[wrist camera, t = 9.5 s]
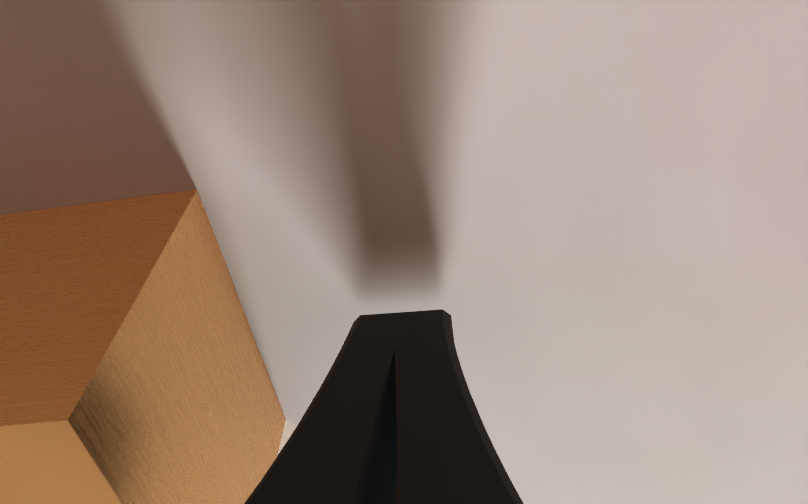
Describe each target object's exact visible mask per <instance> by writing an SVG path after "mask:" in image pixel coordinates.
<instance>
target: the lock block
mask: <svg viewBox="0 0 808 504" xmlns="http://www.w3.org/2000/svg"><path fill="white" fill-rule="evenodd" d="M285 420H286V419H285V417H284V414H283V411H282V409H281V406H280V404H279V401H278V398H277V396H276V393H275V391H274V388H273V385H272V383H271V380H270V378H269V375H268V372H267V370H266V367H265V365H264V362H263V360H262V357H261V354H260V352H259V349H258V347H257V344H256V341H255V339H254V336H253V334H252V331H251V328H250V326H249V323H248V321H247V318H246V315H245V313H244V310H243V308H242V305H241V302H240V300H239V297H238V295H237V292H236V290H235V287H234V284H233V282H232V279H231V277H230V274H229V271H228V269H227V266H226V264H225V261H224V258H223V256H222V253H221V251H220V248H219V245H218V243H217V240H216V238H215V235H214V232H213V230H212V227H211V225H210V222H209V220H208V217H207V214H206V212H205V209H204V207H203V204H202V201H201V199H200V196H199V194H198V191H197V190H190V191H182V192H174V193H166V194H159V195H151V196H143V197H135V198H127V199H120V200H112V201H104V202H96V203H89V204H81V205H73V206H65V207H58V208H50V209H42V210H34V211H26V212H19V213H11V214H3V215H0V504H244V503H245V502H246V500H247V499H248V498H249V496H250V495H251V493H252V492H253V491H254V489H255V488H256V487H257V485H258V484H259V483H260V481H261V480H262V478H263V477H264V475H265V474H266V472H267V471H268V469H269V468H270V466H271V465H272V463H273V462H274V460H275V459H276V458H277V454H278V450H279V445H280V441H281V437H282V432H283V428H284V424H285Z"/></svg>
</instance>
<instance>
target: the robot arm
mask: <svg viewBox="0 0 808 504" xmlns="http://www.w3.org/2000/svg"><path fill="white" fill-rule="evenodd" d="M244 504H523V502H522V500H521V498H520V497H519V495H518V493H517V491H516V489H515V488H514V486H513V484H512V482H511V480H510V478H509V476H508V474H507V472H506V471H505V469H504V467H503V465H502V463H501V461H500V459H499V457H498V455H497V453H496V451H495V449H494V447H493V445H492V442H491V440H490V438H489V436H488V434H487V432H486V430H485V427H484V425H483V423H482V420H481V418H480V416H479V413H478V411H477V408H476V406H475V404H474V401H473V399H472V396H471V394H470V392H469V389H468V386H467V383H466V381H465V378H464V375H463V372H462V369H461V366H460V362H459V359H458V356H457V352H456V348H455V344H454V338H453V329H452V321H451V315H449V314H448V313H447V312H445V311H444V310H430V311H416V312H402V313H388V314H374V315H360V316H359V317H358V318H357V319H356V320H355V321H354V323H353V325H352V327H351V330H350V332H349V334H348V336H347V338H346V340H345V342H344V344H343V346H342V348H341V350H340V352H339V354H338V356H337V358H336V360H335V362H334V364H333V365H332V367H331V369H330V371H329V373H328V375H327V376H326V378H325V380H324V382H323V384H322V385H321V387H320V389H319V391H318V392H317V394H316V396H315V397H314V399H313V401H312V402H311V404H310V406H309V407H308V409H307V411H306V412H305V414H304V416H303V417H302V419H301V421H300V423H299V424H298V426H297V427H296V429H295V431H294V432H293V434H292V435H291V437H290V438H289V440H288V441H287V443H286V444H285V446H284V447H283V449H282V450H281V452H280V453H279V455H278V456H277V458H276V459H275V460H274V462H273V463H272V465H271V466H270V468H269V469H268V471H267V472H266V474H265V475H264V477H263V478H262V480H261V481H260V483H259V484H258V485H257V487H256V488H255V489H254V491H253V492H252V493H251V495H250V496H249V498H248V499H247V500H246V502H245V503H244Z"/></svg>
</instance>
